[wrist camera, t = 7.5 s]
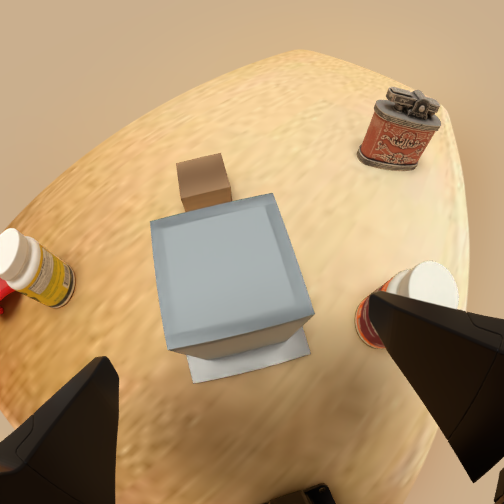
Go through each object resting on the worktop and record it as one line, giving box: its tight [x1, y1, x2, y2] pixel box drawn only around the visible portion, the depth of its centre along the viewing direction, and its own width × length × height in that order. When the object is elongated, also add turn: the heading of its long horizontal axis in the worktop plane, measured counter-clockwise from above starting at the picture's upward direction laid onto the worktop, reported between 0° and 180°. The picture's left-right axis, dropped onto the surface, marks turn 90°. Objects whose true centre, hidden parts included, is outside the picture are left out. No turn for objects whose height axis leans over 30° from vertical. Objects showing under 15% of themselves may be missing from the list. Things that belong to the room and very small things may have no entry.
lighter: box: [357, 87, 441, 171], centre depth 24 cm, size 8×3×10 cm, turn 91°
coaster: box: [186, 326, 311, 384], centre depth 21 cm, size 9×9×1 cm
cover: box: [150, 193, 315, 360], centre depth 16 cm, size 6×6×10 cm
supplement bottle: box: [0, 228, 75, 308], centre depth 18 cm, size 5×5×8 cm
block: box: [176, 153, 232, 212], centre depth 24 cm, size 4×4×4 cm
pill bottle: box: [355, 261, 459, 348], centre depth 17 cm, size 5×5×8 cm
